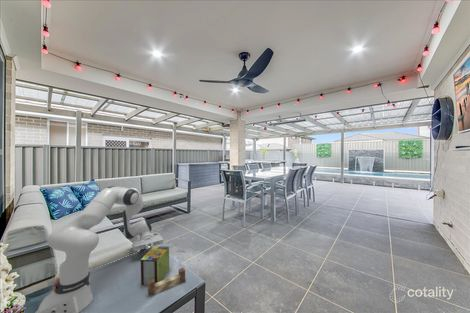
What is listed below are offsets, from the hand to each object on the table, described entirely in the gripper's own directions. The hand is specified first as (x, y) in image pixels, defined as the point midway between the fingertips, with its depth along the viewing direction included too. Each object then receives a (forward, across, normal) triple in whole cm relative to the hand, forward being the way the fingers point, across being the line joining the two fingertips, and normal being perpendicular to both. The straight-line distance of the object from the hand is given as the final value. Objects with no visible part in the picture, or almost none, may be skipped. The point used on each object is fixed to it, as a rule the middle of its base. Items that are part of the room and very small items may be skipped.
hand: (150, 248), depth 127 cm
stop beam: (+31, +4, +10) cm, 33 cm away
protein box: (+18, +1, +10) cm, 21 cm away
